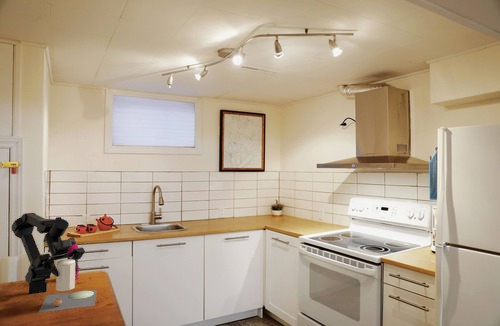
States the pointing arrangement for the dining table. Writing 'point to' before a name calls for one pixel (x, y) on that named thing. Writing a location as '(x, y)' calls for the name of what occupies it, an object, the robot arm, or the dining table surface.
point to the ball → (57, 302)
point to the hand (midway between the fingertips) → (67, 273)
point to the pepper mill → (69, 258)
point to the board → (69, 300)
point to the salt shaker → (65, 275)
